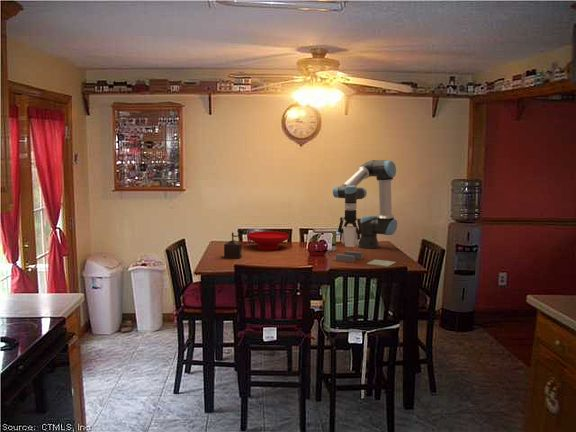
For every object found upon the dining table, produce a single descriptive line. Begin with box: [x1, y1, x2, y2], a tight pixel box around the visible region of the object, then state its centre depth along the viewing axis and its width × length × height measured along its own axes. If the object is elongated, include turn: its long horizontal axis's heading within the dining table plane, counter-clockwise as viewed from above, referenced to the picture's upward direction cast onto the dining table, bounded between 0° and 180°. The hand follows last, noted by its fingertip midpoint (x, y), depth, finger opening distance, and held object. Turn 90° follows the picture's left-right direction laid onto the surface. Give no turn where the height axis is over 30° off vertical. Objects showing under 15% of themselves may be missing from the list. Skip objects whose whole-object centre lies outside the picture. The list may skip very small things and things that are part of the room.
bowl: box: [246, 230, 290, 251], centre depth 382 cm, size 30×30×10 cm
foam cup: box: [342, 225, 359, 248], centre depth 340 cm, size 10×9×13 cm
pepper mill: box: [223, 228, 244, 260], centre depth 348 cm, size 16×11×18 cm
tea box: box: [312, 228, 337, 252], centre depth 375 cm, size 15×10×15 cm
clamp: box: [332, 250, 364, 264], centre depth 342 cm, size 16×14×4 cm
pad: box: [366, 259, 397, 268], centre depth 331 cm, size 14×14×1 cm
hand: (350, 243), depth 341 cm, fingers closed on foam cup, 9 cm apart
